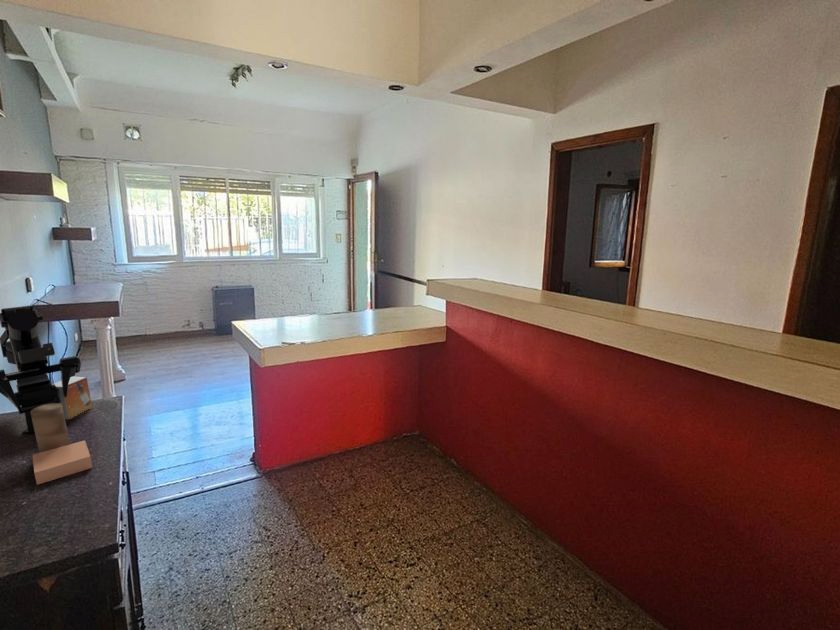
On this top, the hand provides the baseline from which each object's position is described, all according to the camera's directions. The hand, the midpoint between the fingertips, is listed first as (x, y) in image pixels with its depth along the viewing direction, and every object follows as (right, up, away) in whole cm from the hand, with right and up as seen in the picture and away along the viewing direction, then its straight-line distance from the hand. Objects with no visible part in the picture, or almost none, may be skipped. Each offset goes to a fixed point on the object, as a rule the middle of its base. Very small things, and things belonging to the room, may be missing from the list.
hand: (43, 402), depth 110 cm
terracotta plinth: (+11, -14, -7) cm, 19 cm away
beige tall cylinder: (+4, -13, 0) cm, 13 cm away
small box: (-9, -8, +21) cm, 24 cm away
